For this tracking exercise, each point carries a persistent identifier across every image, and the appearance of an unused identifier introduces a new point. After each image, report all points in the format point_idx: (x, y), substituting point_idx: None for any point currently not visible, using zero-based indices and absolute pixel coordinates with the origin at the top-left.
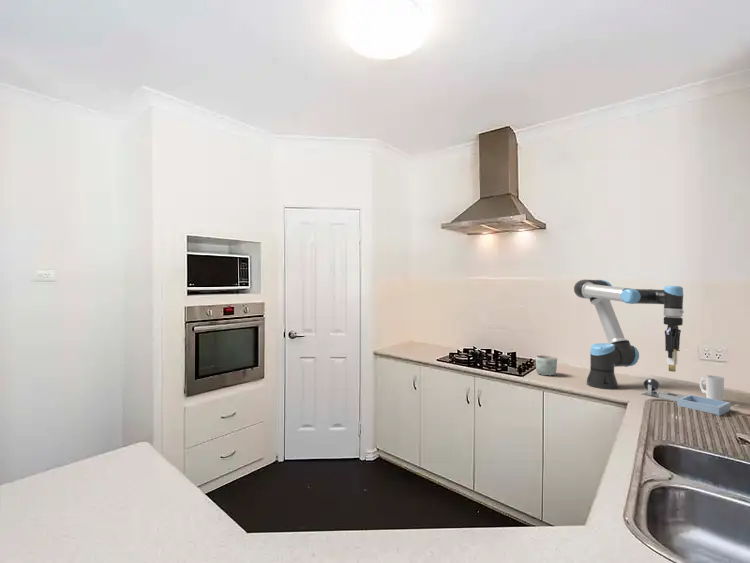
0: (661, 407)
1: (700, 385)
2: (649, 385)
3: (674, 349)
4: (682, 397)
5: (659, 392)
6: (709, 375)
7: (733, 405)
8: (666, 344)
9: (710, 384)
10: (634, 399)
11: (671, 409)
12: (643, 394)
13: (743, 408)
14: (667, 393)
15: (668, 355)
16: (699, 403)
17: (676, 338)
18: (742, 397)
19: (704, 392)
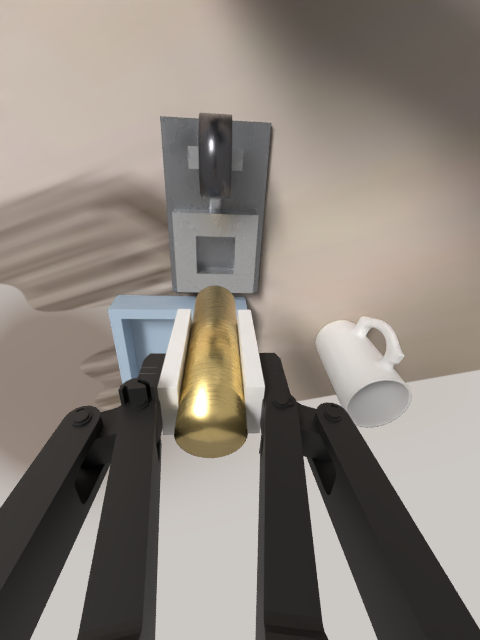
0: (39, 265)
1: (378, 325)
2: (188, 156)
3: (189, 452)
4: (158, 311)
5: (214, 200)
6: (403, 384)
7: (320, 380)
8: (24, 491)
9: (336, 375)
10: (39, 133)
11: (53, 295)
12: (170, 130)
13: (302, 400)
14: (219, 235)
15: (141, 371)
16: (121, 368)
17: (257, 637)
18: (473, 369)
19: (356, 325)
